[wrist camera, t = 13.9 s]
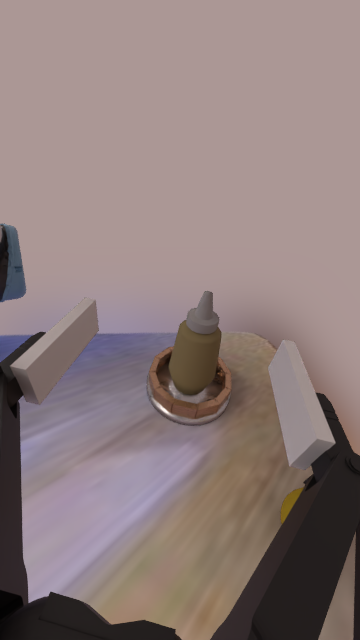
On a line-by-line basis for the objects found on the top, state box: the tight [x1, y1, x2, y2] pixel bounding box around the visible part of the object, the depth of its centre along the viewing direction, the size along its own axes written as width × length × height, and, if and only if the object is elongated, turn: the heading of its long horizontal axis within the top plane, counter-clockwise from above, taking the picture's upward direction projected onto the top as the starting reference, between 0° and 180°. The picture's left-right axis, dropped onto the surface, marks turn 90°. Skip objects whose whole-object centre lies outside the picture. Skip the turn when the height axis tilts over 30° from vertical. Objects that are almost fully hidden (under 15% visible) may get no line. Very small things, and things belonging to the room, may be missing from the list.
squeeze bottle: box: [169, 291, 221, 395], centre depth 34 cm, size 8×8×18 cm
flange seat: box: [147, 347, 231, 426], centre depth 39 cm, size 15×15×4 cm
